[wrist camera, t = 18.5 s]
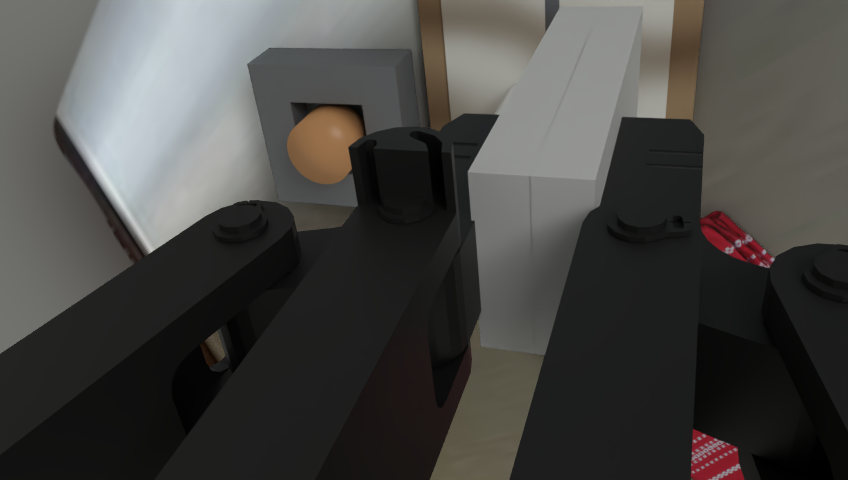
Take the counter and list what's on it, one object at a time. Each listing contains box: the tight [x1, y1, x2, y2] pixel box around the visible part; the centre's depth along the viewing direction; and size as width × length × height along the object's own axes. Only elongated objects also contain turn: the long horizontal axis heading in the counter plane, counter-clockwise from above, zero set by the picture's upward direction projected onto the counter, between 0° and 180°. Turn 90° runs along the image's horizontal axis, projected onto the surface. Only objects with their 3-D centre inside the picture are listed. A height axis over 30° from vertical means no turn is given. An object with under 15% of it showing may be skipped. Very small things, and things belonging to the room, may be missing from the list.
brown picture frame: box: [418, 0, 704, 131], centre depth 43 cm, size 22×16×1 cm
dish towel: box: [691, 211, 775, 480], centre depth 53 cm, size 17×24×3 cm
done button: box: [287, 103, 366, 184], centre depth 49 cm, size 4×4×3 cm
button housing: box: [247, 48, 419, 207], centre depth 51 cm, size 10×10×3 cm
